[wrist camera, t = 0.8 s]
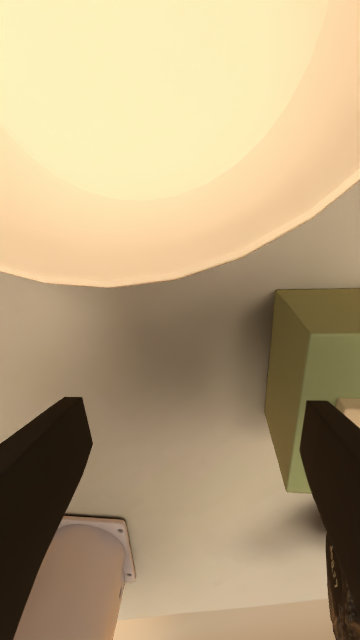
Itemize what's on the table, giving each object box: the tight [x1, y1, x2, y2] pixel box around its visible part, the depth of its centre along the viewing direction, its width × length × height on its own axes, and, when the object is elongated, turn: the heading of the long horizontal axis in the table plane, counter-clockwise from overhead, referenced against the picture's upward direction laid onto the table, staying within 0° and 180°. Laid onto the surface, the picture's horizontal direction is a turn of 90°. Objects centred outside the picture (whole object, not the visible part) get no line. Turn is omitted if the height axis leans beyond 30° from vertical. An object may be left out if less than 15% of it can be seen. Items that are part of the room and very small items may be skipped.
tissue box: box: [265, 288, 360, 494], centre depth 15 cm, size 9×5×7 cm, turn 3°
